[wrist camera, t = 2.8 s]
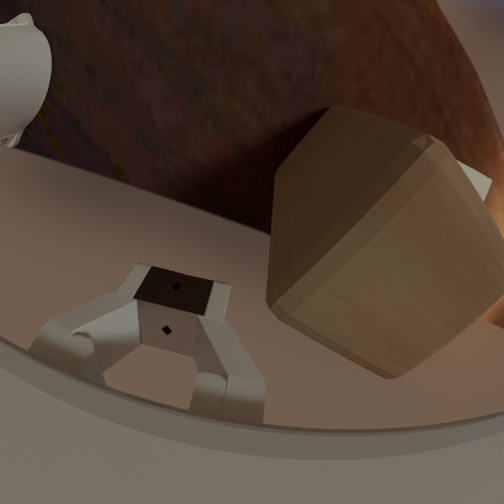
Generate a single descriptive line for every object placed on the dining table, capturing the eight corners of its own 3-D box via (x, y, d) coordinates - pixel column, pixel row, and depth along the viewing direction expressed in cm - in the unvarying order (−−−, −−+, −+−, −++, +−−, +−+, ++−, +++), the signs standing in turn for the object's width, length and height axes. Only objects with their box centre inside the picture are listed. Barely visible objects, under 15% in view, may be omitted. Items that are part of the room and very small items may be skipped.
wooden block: (342, 230, 31) (391, 389, 14) (270, 174, 29) (254, 316, 12) (403, 165, 27) (526, 280, 10) (334, 99, 24) (440, 126, 7)
